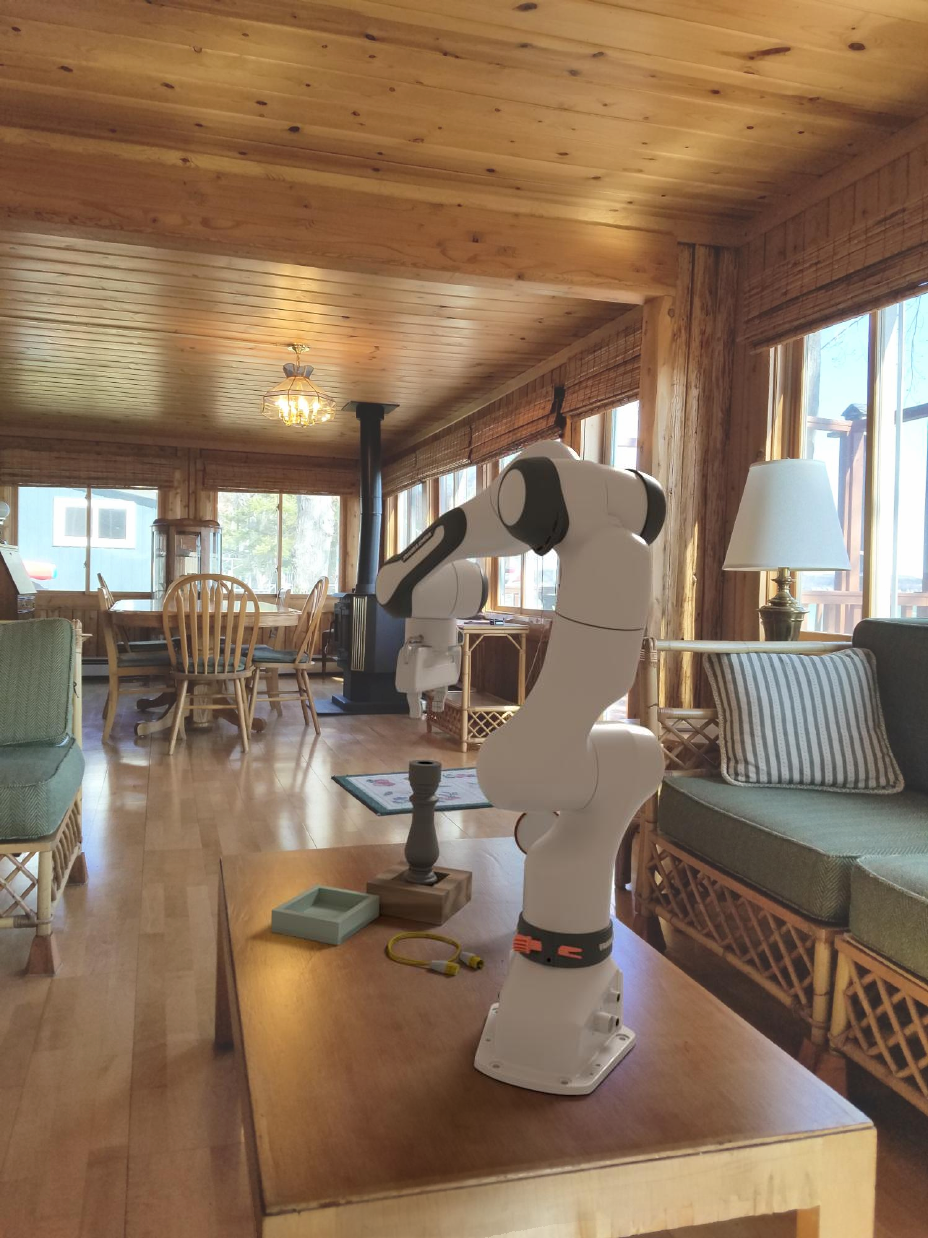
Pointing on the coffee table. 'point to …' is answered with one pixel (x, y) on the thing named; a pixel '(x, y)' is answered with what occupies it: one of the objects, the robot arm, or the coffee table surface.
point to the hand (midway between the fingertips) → (427, 714)
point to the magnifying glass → (532, 828)
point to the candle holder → (423, 822)
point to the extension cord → (438, 965)
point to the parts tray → (325, 914)
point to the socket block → (421, 894)
